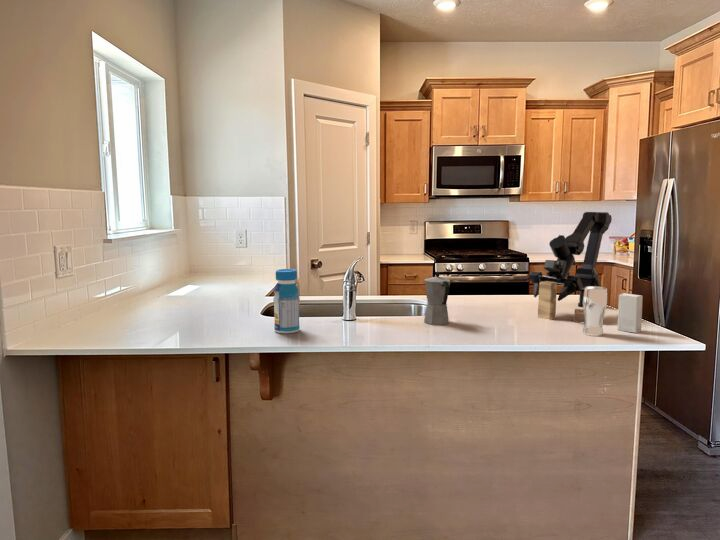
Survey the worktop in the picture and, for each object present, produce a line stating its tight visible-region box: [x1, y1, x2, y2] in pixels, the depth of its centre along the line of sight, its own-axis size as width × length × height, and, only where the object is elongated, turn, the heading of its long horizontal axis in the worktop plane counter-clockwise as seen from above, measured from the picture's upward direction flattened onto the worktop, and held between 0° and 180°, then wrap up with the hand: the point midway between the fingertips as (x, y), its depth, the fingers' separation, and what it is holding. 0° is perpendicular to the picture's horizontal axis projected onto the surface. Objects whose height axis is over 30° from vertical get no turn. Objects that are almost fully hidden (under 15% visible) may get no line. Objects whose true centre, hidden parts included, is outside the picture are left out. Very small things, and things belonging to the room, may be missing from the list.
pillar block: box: [537, 281, 558, 320], centre depth 186 cm, size 4×4×13 cm
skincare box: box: [617, 292, 644, 334], centre depth 167 cm, size 6×4×12 cm
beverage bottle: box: [272, 268, 301, 334], centre depth 165 cm, size 8×8×20 cm
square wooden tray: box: [574, 308, 585, 323], centre depth 182 cm, size 9×9×3 cm
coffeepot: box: [423, 271, 451, 326], centre depth 177 cm, size 15×9×18 cm, turn 15°
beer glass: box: [582, 286, 608, 337], centre depth 163 cm, size 7×7×15 cm
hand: (546, 298), depth 185 cm, fingers open, 9 cm apart
